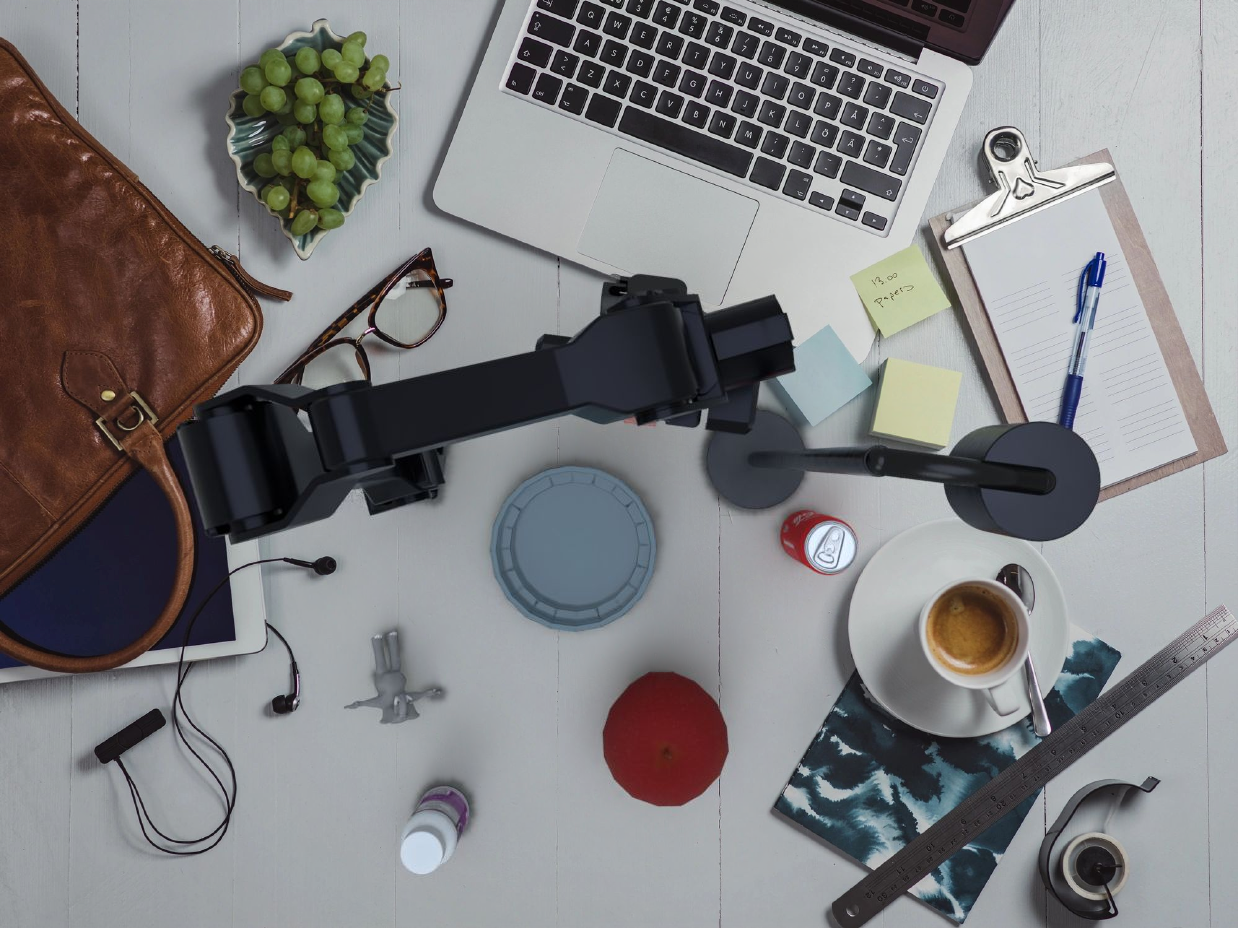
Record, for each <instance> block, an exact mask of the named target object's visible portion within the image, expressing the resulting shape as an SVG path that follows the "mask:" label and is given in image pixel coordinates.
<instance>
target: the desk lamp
mask: <svg viewBox="0 0 1238 928" xmlns="http://www.w3.org/2000/svg"><path fill="white" fill-rule="evenodd" d="M704 460H705V468H706V474H707V475H708V478H709V481H710V483H711V485H712V486H713V488H714V490H716V492H717V493H718V494H719V495H720V496H721V497H723V499H725V500H727V501H728V502H729V503H731V504H733V505H735V506H738V507H741V508H744V509H749V510H763V509H768V508H772V507H774V506H775V507H776V506H777V505H779V504H781V503H783V502H784V501H786V500H787V499H788V498H789V497H791V496H792V495H793V494H794V493H795V491H796V490H797V489H798V487H799V486H800V484H801V482H802V480H803V478H804V475H805V472H809V473H821V474H833V475H834V474H835V475H846V476H847V475H848V476H860V477H870V478H871V477H872V478H883V477H889V478H890V477H891V478H897V479H906V480H914V481H921V482H922V481H923V482H930V483H937V484H943V490H944V494H945V497H946V500H947V502H948V504H949V506H950V507H951V509H952V510H953V512H954V513H955V514H956V516H957V517H958V518H959V519H960V520H962V521H963V523H965V524H967V525H969V527H972V528H974V529H976V530H978V531H981V532H986V533H990V534H994V535H999V536H1004V537H1009V538H1014V539H1019V540H1023V541H1028V542H1035V543H1036V542H1037V543H1043V542H1051V541H1055V540H1059V539H1062V538H1064V537H1067V536H1068V535H1070V534H1072V533H1073V532H1075V531H1076V530H1078V529H1079V528H1080V527H1081V526H1083V524H1085V522H1086V521H1087V520H1088V519H1089V518H1090V516H1091V515H1092V513H1093V512H1094V510H1095V508H1096V506H1097V503H1098V502H1099V501H1098V500H1099V497H1100V493H1101V483H1102V479H1101V469H1100V465H1099V462H1098V460H1097V457H1096V455H1095V453H1094V451H1093V449H1092V448H1091V446H1090V445H1089V444H1088V443H1087V442H1086V441H1085V439H1084V438H1083V437H1082V436H1080V435H1079V434H1078V433H1077V432H1075V431H1074V430H1073V429H1071V428H1069V427H1067V426H1064V425H1063V424H1060V423H1056V422H1052V421H1044V420H1043V421H1042V420H1037V421H1023V422H1014V423H1013V422H1012V423H1003V424H1002V423H1000V424H992V425H991V424H990V425H986V426H982V427H979V428H976V429H974V430H973V431H970V432H969V433H967V434H965V435H964V436H963V437H962V438H960V439H959V440H958V442H956V443H955V445H954V446H953V448H952V449H951V451H950V452H949V454H948V455H947V454H940V453H930V452H923V451H915V450H907V449H900V448H899V449H898V448H891V447H888V446H886V445H883V444H872V445H855V446H837V447H816V448H814V447H813V448H806V447H805V444H804V441H803V438H802V437H801V434H800V433H799V432H798V430H797V428H795V426H794V425H793V424H792V423H791V422H790V421H789V420H787V419H786V418H785V417H783V416H782V415H780V414H777V413H775V412H773V411H769V410H764V409H757V410H756V417H755V423H754V427H753V429H752V430H751V431H750V432H748V433H747V434H746V435H738V434H730V433H722V432H714V431H713V433H712V435H711V436H710V438H709V440H708V443H707V446H706V450H705V459H704Z"/></svg>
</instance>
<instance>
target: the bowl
mask: <svg viewBox="0 0 1238 928" xmlns="http://www.w3.org/2000/svg"><path fill="white" fill-rule="evenodd" d="M657 546H658V545H657V540H656V534H655V529H654V523H653V519H652V516H651V515H650V513H649V511H648V509H647V507H646V505H645V504H644V502H643V500H642V498H641V496H640V495H639V494H638V493H637V492H636V491H634V490H633V488H632V487H631V486H629V485H628V483H626V482H625V481H624V480H623V479H622V478H620V477H618V476H616V475H614V474H612V473H610V472H607V471H605V470H603V469H601V468H598V467H594V466H585V465H578V464H570V465H564V466H559V467H554V468H548V469H545V470H542V471H541V472H539V473H537V474H535V475H533V476H531V477H529V478H528V479H526V480H524V481H522V482H521V483H520V484H519V485H518V486H517V487H516V488H515V490H513V492H512V493H511V494H510V495H509V496H508V497H507V498H506V499H505V500H504V502H503V504H502V506H501V508H500V510H499V512H498V514H497V517H496V519H495V521H494V523H493V525H492V533H491V541H490V549H489V553H490V558H491V563H492V567H493V574H494V578H495V580H496V581H497V583H498V585H499V586H500V589H501V590H502V592H503V594H504V595H505V598H506V600H507V601H508V602H509V603H510V604H511V605H513V606H514V607H515V608H516V610H518V611H519V612H520V613H521V614H522V615H523V616H524V617H525V618H527V619H529V620H531V621H533V622H535V623H537V624H539V625H541V626H544V627H545V628H548V629H550V630H556V631H557V630H558V631H563V632H564V631H566V632H574V633H579V632H582V631H583V632H585V631H589V630H595V629H599V628H603V627H605V626H606V625H609V624H610V623H613V622H614V621H615V620H618V619H620V618H622V617H624V616H625V615H627V613H628V612H629V611H630V610H631V609H632V608H633V606H635V604H636V603H637V602H638V601H639V600H640V599H641V598H642V597H643V596H644V594H645V591H646V589H647V588H648V585H649V583H650V581H651V579H652V577H653V575H654V573H655V564H656V555H657V549H658V548H657Z"/></svg>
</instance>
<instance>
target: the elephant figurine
mask: <svg viewBox="0 0 1238 928" xmlns="http://www.w3.org/2000/svg"><path fill="white" fill-rule="evenodd" d="M385 637H386V643H387V649H388V650H387V651H388V657H389V666H390V668H388V667H387V659H386V654H385V647H384V641H383V635H382V634H376V635H374V636H372V637H371V639H370V641H371V646H372V650H373V655H374V662H375V672H376V674H375V677H374V681H373V685H374V688H375V691H376V693H377V696H374V697H371V698H368V699H366V700H356V701H354V702H353V703H351V704H347V705H345V706H343V709H344V710H347V709H349V710H356V709H358V708H359V707H367V708H368V707H369V708H375V709H376V708H377V709H380V710H382V717H381V719H380V720H379V724H381V725H388V724H390V725H397V724H402V723H404V722H406V721H411V720H416V719H418V718H419V717H420V716H421V714H420V713H418V711H417V709H416V707H415V705H414V704H413V703H414V702H417V701H419V700H421V699H423V698H430V697H433V696H435V695H440V694H441V690H437V689H436V688H434V689H428V690H424V691H410V692H409V691H406V684H407V678H406V676H405V674H404V673H403V672H402V662H401V656H400V652H399V651H400V650H399V642H398V632H397V631H392V632H389V633H388V634H386V635H385Z"/></svg>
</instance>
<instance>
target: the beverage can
mask: <svg viewBox="0 0 1238 928" xmlns="http://www.w3.org/2000/svg"><path fill="white" fill-rule="evenodd" d="M779 536H780V542H781V546H782V548H783V550H784V551H785V553H786V554H787V555H788V556H790V557H791V558H792V559H794V560H796V561H797V562H799V563H800V564H802V565H803V566H805V567H806V568H808V569H810V570H811V571H812V572H814V573H816V574H819V575H822V576H836V575H840V574H841V573H844V572H845V571H847V570H848V569H849V568H851V566H852V565H853V564H854V563H855V560H856V558H857V556H858V552H859V540H858V537H857V535H856V532H855V531H854V529H853V528H852V526H851V525H849V524H848V523H847V522H846V521H845V520H842V519H840V518H838V517H834V516H831V515H827V514H824V513H821V512H818V511H814V510H811V509H802V510H798V511H795V512H793V513H791V514H790V515H789V516H788V517H787V518H786V519H785V520H784V522H783V524H782V526H781V529H780V535H779Z"/></svg>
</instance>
